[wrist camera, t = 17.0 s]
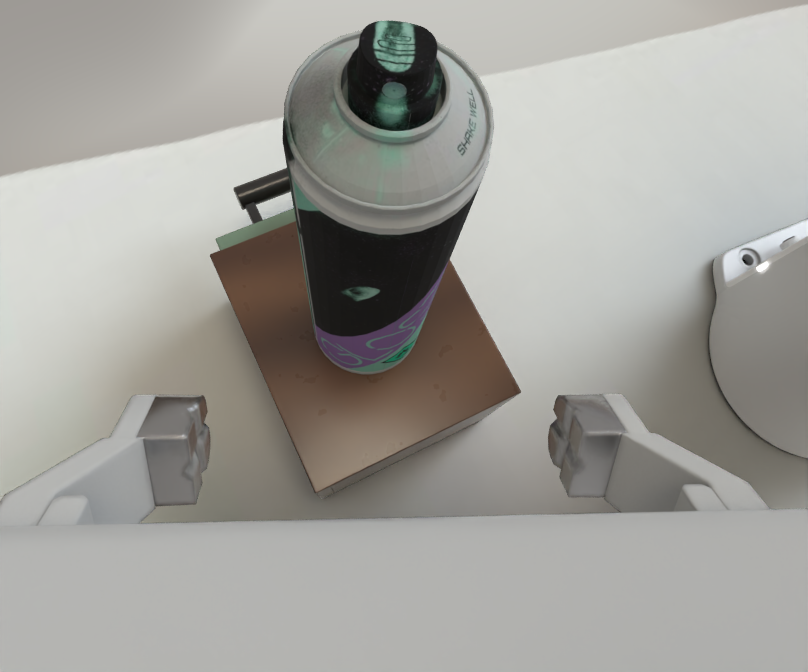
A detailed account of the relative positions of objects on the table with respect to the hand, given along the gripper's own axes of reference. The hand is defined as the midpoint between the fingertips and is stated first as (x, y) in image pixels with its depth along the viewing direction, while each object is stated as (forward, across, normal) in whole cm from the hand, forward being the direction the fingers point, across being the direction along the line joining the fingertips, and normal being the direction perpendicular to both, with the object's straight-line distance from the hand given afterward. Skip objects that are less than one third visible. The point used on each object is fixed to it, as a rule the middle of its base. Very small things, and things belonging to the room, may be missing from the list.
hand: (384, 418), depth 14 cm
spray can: (+17, 0, +6) cm, 18 cm away
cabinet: (+24, 0, +13) cm, 27 cm away
